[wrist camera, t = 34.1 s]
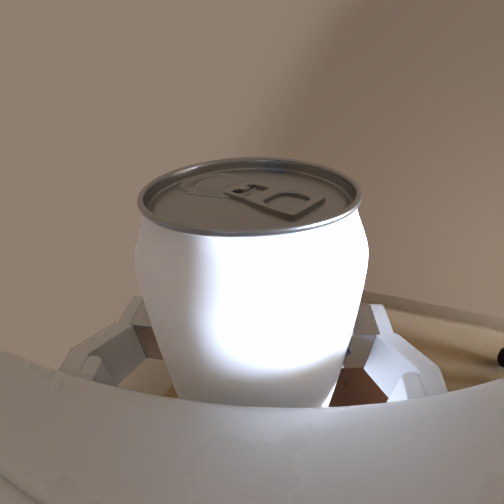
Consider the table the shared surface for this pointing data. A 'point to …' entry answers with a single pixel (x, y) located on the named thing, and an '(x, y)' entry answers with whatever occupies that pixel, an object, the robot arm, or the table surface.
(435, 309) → the table surface
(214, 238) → the can
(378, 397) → the lid
